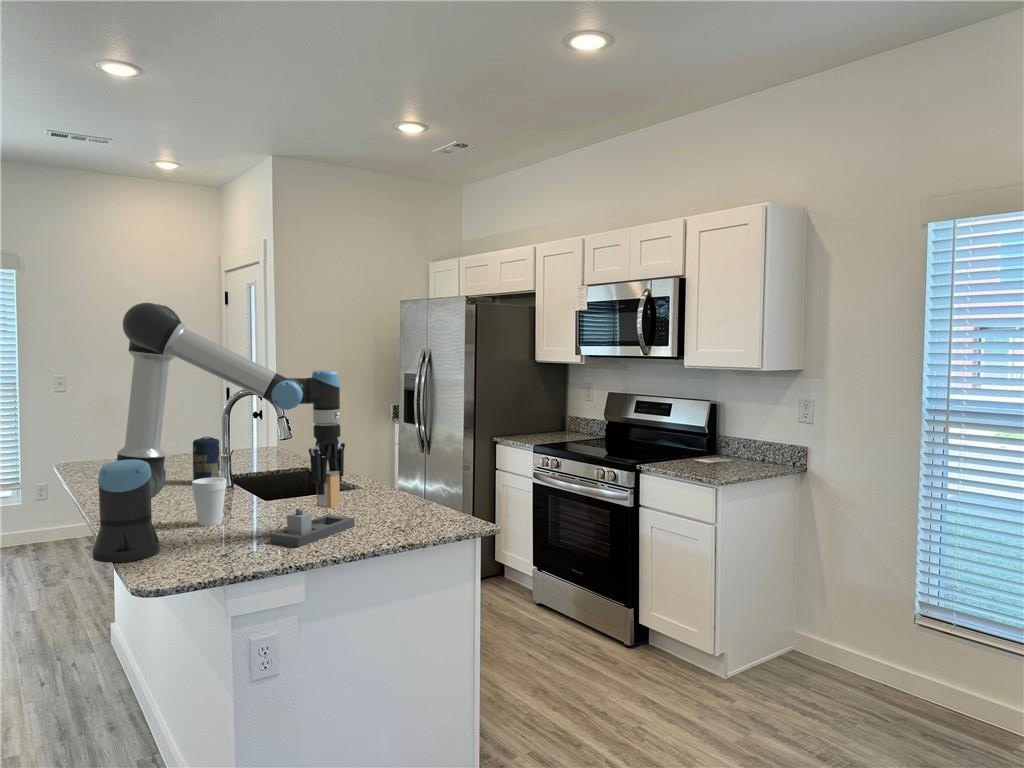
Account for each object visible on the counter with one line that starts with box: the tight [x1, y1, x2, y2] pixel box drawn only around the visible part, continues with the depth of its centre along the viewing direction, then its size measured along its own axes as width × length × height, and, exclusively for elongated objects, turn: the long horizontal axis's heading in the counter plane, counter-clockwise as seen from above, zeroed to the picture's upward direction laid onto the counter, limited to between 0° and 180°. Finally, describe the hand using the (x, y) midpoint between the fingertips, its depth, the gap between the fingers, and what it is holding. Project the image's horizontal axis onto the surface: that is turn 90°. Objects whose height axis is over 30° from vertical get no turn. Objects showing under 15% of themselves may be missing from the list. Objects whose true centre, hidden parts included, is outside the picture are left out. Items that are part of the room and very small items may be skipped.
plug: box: [316, 470, 341, 509], centre depth 208 cm, size 4×5×10 cm
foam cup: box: [191, 477, 227, 527], centre depth 215 cm, size 10×9×13 cm
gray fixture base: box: [269, 508, 356, 548], centre depth 203 cm, size 24×10×8 cm, turn 155°
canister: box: [192, 436, 221, 481], centre depth 275 cm, size 10×10×18 cm
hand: (328, 503), depth 209 cm, fingers closed on plug, 4 cm apart
